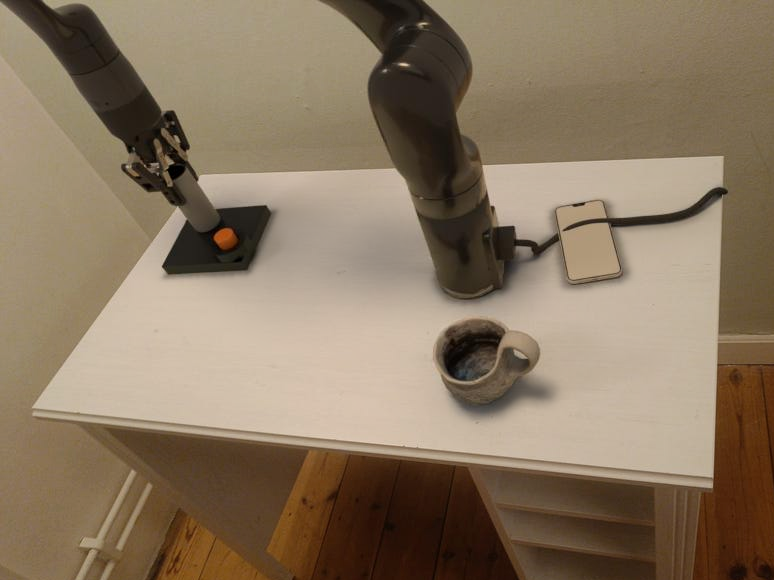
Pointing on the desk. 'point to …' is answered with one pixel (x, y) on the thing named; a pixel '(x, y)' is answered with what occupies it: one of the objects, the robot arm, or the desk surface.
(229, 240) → the button
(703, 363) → the desk surface
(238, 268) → the dark grey flat block
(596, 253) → the smartphone
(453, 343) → the mug
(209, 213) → the grey cylinder
